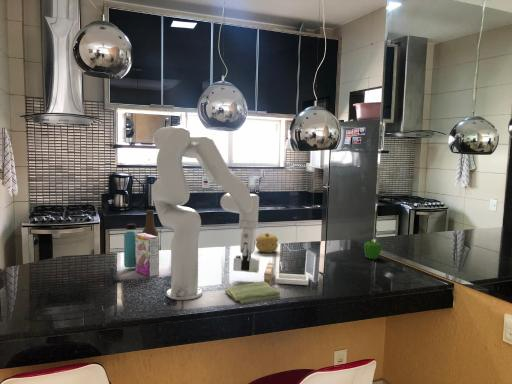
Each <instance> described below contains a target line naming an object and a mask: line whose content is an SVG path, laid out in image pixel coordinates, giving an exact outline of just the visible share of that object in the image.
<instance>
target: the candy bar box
mask: <svg viewBox="0 0 512 384" xmlns="http://www.w3.org/2000/svg"><path fill="white" fill-rule="evenodd" d="M159 242H160V236H158V237H157V236H153V235H150V234H147V233H142V232H141V233H139V234H135V252H136V255H135V257H136V267H135V272H136V273H137V274H138V273H139V274H140V275H143V276H147V277H148V278H153V277H156V276H159V275H160V243H159Z"/></svg>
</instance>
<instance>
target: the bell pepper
mask: <svg viewBox="0 0 512 384" xmlns="http://www.w3.org/2000/svg"><path fill="white" fill-rule="evenodd" d="M363 250H364V256H365V258H367V259H370V260H377V259H378V258H379V257H380V255H381V251H382V245H381V242H380V243H379V242H376V241H375V239H371V241H366V242H364V245H363Z"/></svg>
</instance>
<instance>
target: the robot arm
mask: <svg viewBox="0 0 512 384" xmlns="http://www.w3.org/2000/svg"><path fill="white" fill-rule="evenodd" d="M152 140H153V143H154V145H155V147H156V148H157V149H158V150H159V151H158V152H157V155H156V156H157V157H156V168H157V174H158V179H157V180H155V181H154V182H153V185H152V187H151V196H152V199H153V203H154V208H155V210H156V213H157V216H158V219H159V221H160V223H161V225H162V227H163V228H164V229H167V230H169V231H171V232H174V233H173V236H172V240H171V244H170V245H171V247H170V253H171V254H170V255H171V256H170V257H171V258H170V262H171V263H170V265H171V266H170V268H171V269H170V273H171V274H170V278H171V279H170V288H169V289H168V290H166V297H167V298H168V299H169V298H170V299H172V300H176V301H186V300H187V301H189V300H194V299H197V298H200V297H201V296H202V295H203V289H202V288H200V287H199V238H200V231H201V227H202V219H201V216H200V214H199V212H198V211H197V210H195V209H194V208H191V207H188V206H183V205H186V204H187V203H188V202H189V199H190V196H191V194H190V189H189V185H188V182H187V178H186V175H185V171H184V167H183V157H184V158H190V159H196V160H197V162H198V164H199V165H200V167H201V169H202V171H203V172H204V174H205V176H206V177H207V179H208V180H209V181H210V182H211V183H212V184H214V185H217V186H218V187H219V188H222V189H223V190H224V191H226V193H224V194H223V195H222V196H221V198H220V201H219V202H220V206H221V208H222V209H223V210H225V211H226V212H229V213H235V214H239V220H238V228H239V229H241V232H240V246H239V247H240V250H239V251H240V253H241V257H242V261H241V270H243V271H242V272H244V271H249V263H250V261H249V257H251V258H252V254H253V253H254V252H255V250H256V230H257V229H258V227H259V226H258V225H259V207H260V196H259V195H258V194H255V193H250V191H249V189H248V187H247V185H246V184H245V183H244V182H243V180H242V179H241V178H239V177H238V176H237V175H236V174H235V172H234V171H233V170H231V169H230V168H229V167H228V165H227V163H226V161H225V159H224V157H223V156H222V154H221V152H220V150H219V149H218V147H217V145H216V143H215V141H214V140H213V139H212V137H211V136H209V135H205V134H197V135H196V134H195V135H194V134H193V135H192V134H191V133H190V130H189V129H188V128H186V127H185V126H182V125H172V126H163V127H160V128H158V129H156V131H155V132H154V134H153V139H152Z"/></svg>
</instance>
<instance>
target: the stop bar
mask: <svg viewBox="0 0 512 384" xmlns="http://www.w3.org/2000/svg"><path fill="white" fill-rule="evenodd" d="M260 259H261V258H259V257H252V256H251V257H249V261H250V263H249V271H243V270H241V261H242V255H235V256H234V257H233V264H232V265H233V267H232V270H233V271H235V272H246V273H255V274H256V273H259V270H260Z"/></svg>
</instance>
